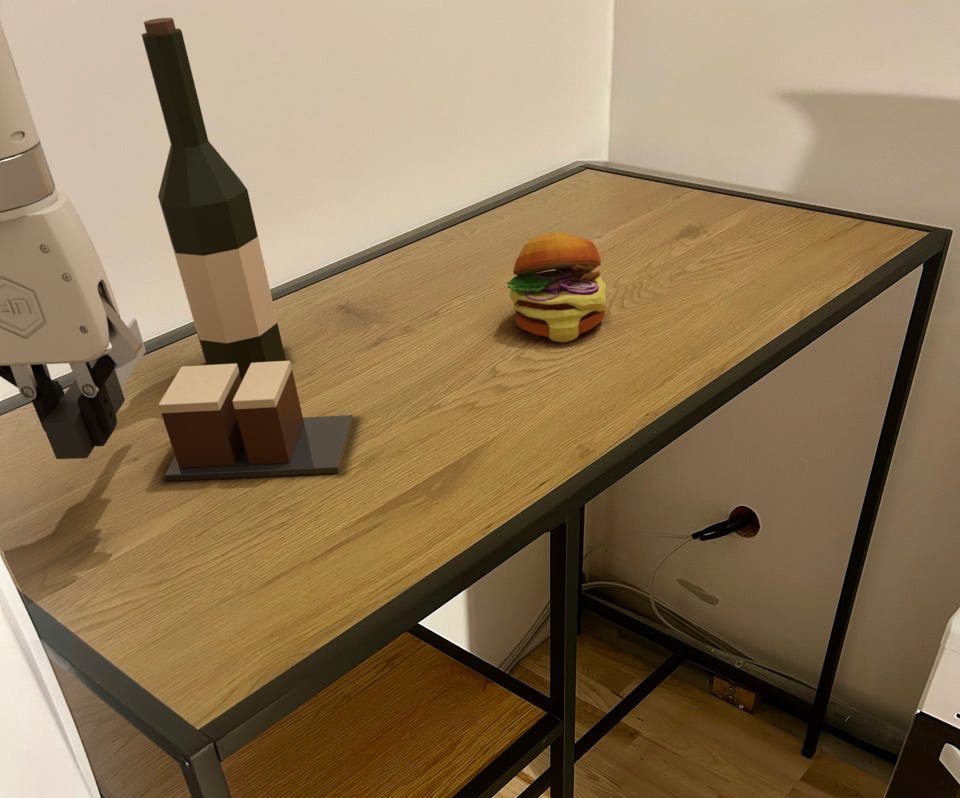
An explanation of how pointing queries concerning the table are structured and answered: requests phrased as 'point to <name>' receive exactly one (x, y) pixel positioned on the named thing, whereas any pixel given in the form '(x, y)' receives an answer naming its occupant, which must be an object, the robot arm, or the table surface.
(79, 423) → the knife
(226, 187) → the wine bottle
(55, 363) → the robot arm
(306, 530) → the table surface
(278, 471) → the board
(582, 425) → the table surface
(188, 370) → the cake
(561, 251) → the cheeseburger
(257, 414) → the cake slice
